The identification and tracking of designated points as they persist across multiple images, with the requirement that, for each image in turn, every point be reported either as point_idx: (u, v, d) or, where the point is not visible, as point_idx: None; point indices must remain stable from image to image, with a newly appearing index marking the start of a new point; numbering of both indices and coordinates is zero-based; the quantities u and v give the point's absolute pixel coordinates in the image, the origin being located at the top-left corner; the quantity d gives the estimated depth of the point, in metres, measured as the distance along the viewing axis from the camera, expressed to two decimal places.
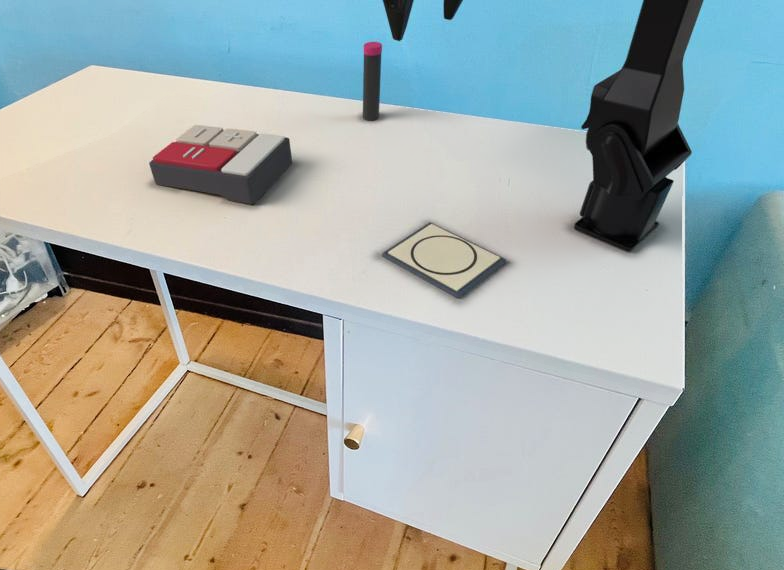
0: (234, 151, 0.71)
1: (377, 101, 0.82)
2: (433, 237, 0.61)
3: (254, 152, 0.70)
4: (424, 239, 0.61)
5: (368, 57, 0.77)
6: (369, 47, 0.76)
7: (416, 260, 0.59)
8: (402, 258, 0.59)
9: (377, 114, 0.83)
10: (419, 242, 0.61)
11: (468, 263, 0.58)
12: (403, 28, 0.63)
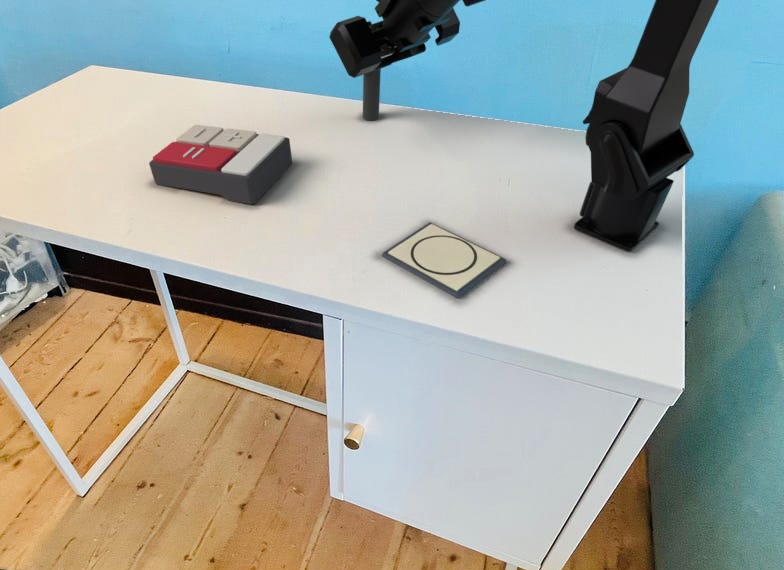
0: (234, 151, 0.71)
1: (377, 101, 0.82)
2: (433, 237, 0.61)
3: (254, 152, 0.70)
4: (424, 239, 0.61)
5: None
6: None
7: (416, 260, 0.59)
8: (402, 258, 0.59)
9: (377, 114, 0.83)
10: (419, 242, 0.61)
11: (468, 263, 0.58)
12: None
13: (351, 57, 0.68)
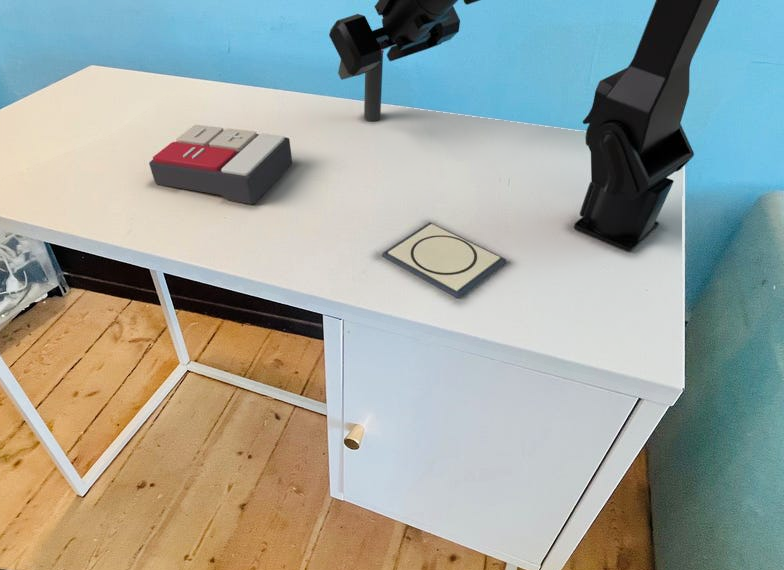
0: (234, 151, 0.71)
1: (379, 102, 0.81)
2: (433, 237, 0.61)
3: (254, 152, 0.70)
4: (424, 239, 0.61)
5: None
6: None
7: (416, 260, 0.59)
8: (402, 258, 0.59)
9: (379, 115, 0.83)
10: (419, 242, 0.61)
11: (468, 263, 0.58)
12: None
13: (350, 56, 0.68)
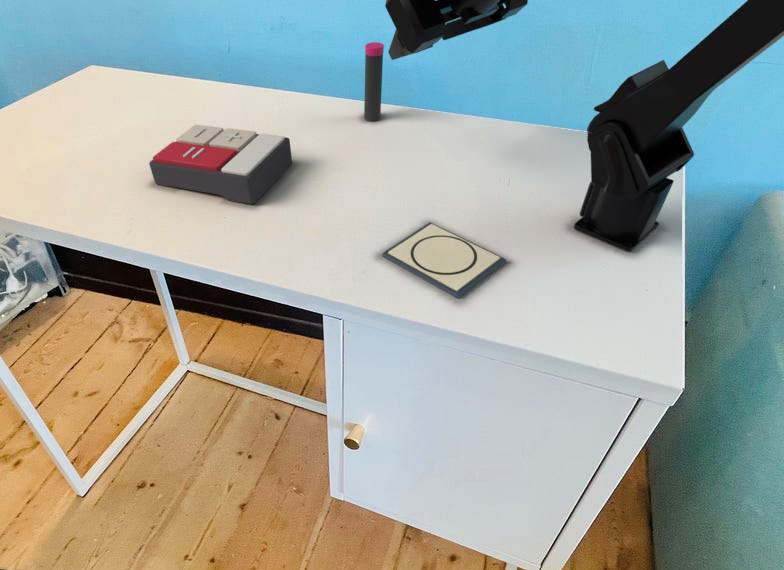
0: (234, 151, 0.71)
1: (379, 102, 0.81)
2: (433, 237, 0.61)
3: (254, 152, 0.70)
4: (424, 239, 0.61)
5: (370, 58, 0.77)
6: (371, 48, 0.76)
7: (416, 260, 0.59)
8: (402, 258, 0.59)
9: (379, 115, 0.83)
10: (419, 242, 0.61)
11: (468, 263, 0.58)
12: (399, 57, 0.68)
13: (411, 29, 0.59)
